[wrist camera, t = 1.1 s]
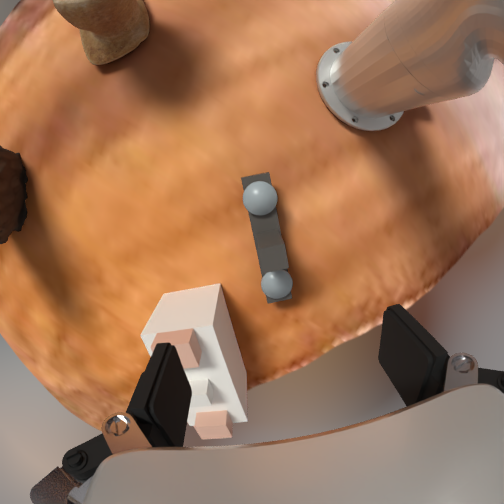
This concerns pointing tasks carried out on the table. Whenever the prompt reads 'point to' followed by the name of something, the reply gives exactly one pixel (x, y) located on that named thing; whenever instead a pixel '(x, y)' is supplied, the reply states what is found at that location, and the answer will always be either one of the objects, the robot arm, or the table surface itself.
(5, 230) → the owl
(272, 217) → the bar with two balls
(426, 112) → the table surface
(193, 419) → the white toy brick
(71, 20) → the stone cup
